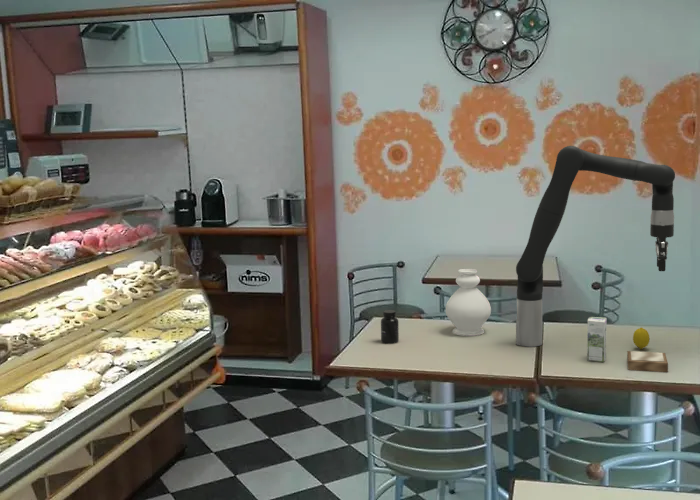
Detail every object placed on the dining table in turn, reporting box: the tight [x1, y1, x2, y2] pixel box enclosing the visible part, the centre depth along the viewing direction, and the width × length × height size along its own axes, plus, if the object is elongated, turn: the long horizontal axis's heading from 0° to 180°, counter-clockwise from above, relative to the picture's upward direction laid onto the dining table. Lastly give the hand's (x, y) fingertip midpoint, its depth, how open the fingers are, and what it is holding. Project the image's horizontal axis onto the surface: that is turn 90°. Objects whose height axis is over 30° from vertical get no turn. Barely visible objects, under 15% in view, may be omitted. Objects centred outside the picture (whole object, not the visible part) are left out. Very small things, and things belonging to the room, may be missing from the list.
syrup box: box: [586, 316, 607, 363], centre depth 265 cm, size 6×6×14 cm
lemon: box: [632, 327, 650, 350], centre depth 275 cm, size 6×6×8 cm
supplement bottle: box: [380, 309, 400, 345], centre depth 297 cm, size 7×7×12 cm
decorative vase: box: [445, 268, 492, 337], centre depth 306 cm, size 18×18×25 cm
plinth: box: [626, 350, 669, 373], centre depth 257 cm, size 12×12×3 cm
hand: (661, 268), depth 270 cm, fingers open, 8 cm apart
